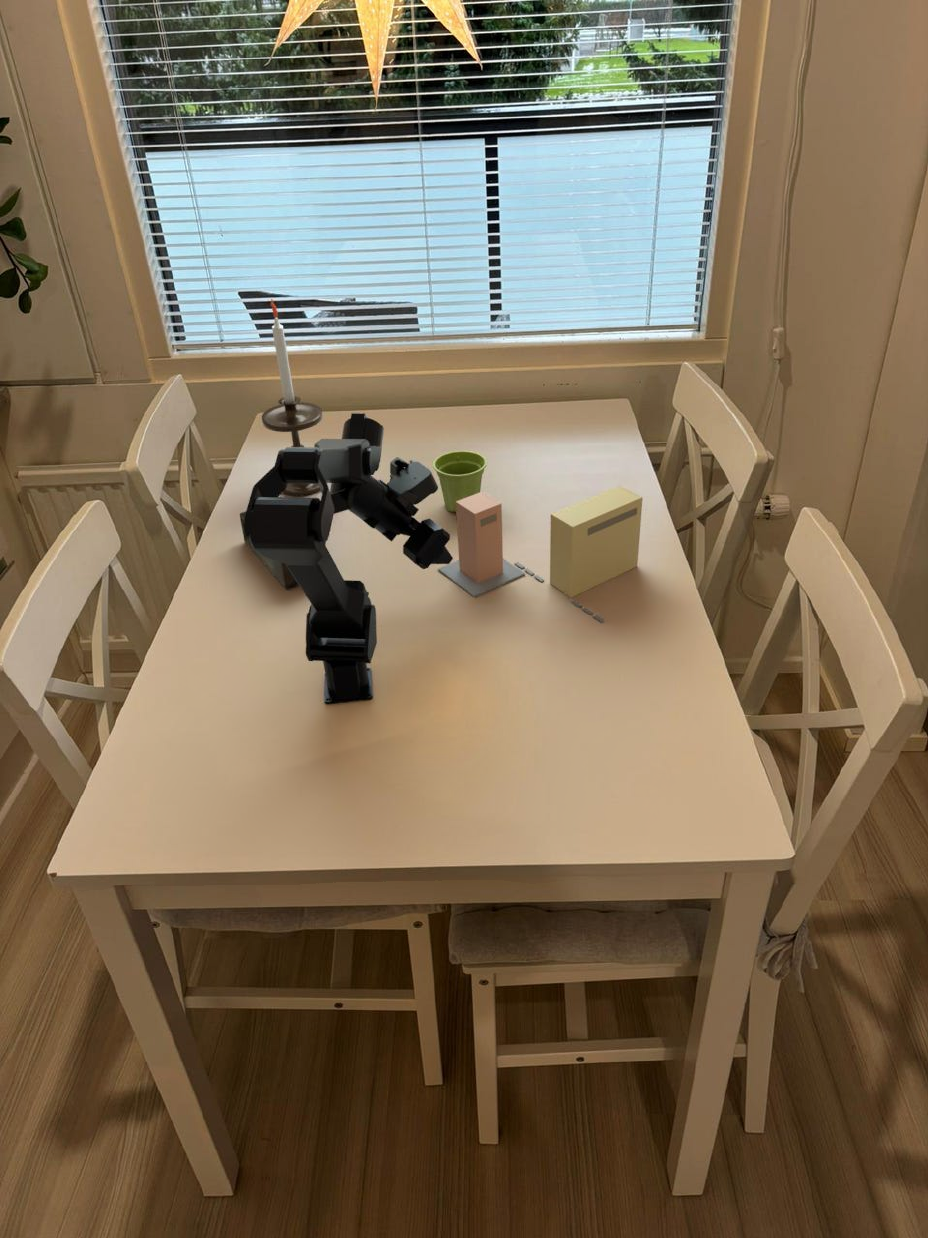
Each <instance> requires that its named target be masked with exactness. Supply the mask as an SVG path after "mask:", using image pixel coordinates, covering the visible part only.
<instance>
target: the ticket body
mask: <svg viewBox="0 0 928 1238" xmlns="http://www.w3.org/2000/svg"><path fill="white" fill-rule="evenodd" d="M642 508H643V496H641V495H639V494H638V493H635V492H633V491H632V490H629V488H626V487H624V486H622V485H618V486H614V487H613V488H610V489H608V490H606V491H603V492H601V493H598V494H596V495H594V496H591V497H589V498H586V499H584V500H581V501H579V502H576V503H574V504H572V505H570V506H567V507H565V508H562V509H560V510H558V511H557V510H556V511H554V512H553V513H550V532H549V533H550V534H549V535H550V536H549V537H550V541H549V544H550V546H549V547H550V550H549V555H550V556H549V557H550V558H549V584H550V585H551V586H553V587H554V588H556V589H557V590H559V591H560V592H562V593H563V594H565V595H566V596H568V597H569V598H573V597H575V596H577V595H579V594H582V593H584V592H586V591H587V590H590V589H592V588H594V587H596V586H599V585H601V584H602V583H605V582H607V581H609V580H612V579H613V578H616V577H618V576H620V575H622V574H624V573H626V572H628V571H630V570H632V569H634V568H637V567H638V561H639V552H640V551H639V549H640V534H641V521H642V511H643V509H642Z"/></svg>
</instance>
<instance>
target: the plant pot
mask: <svg viewBox="0 0 928 1238" xmlns="http://www.w3.org/2000/svg"><path fill="white" fill-rule="evenodd" d="M487 464H488V461H487V458H486V457H485V456H484V455H482V454H480V453H478V452H477V451H470V450H456V451H450V452H445V453H443V454H441V455H438V457H436V458H435V459H434V461H433V463H432V465H433V466H432V467H433V469H434V471H436V475H437V476H438V479H439V485H440V489H441V494H442V498H443V502H444V507H445V509H446V510H447V511H449V512H450V513H451V512H455V513H456V501H459V500H461V499H464V498H466V497H469V496H472V495H474V494H477V493H480V492H481V486H482V479H483V474H484V471H485V468H486V467H487Z"/></svg>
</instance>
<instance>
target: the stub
mask: <svg viewBox="0 0 928 1238" xmlns="http://www.w3.org/2000/svg"><path fill="white" fill-rule="evenodd" d="M502 511H503V509H502V502H500V501H498V500H497V499H495V498H493V497H491V496H490V495H488V494H487V493H485V492H484V491H480V493H477V494H474V495H472V496H469V497H466V498H464V499H461V500H459V501H456V512H455V513H456V526H457V527H456V529H457V543H458V544H457V546H458V547H457V549H458V560H459V567H460V571H462V572H463V573H465V574H466V575H467V576H469V577H470V578H471V579H473V580H474V581H475V582H477V583H480V582H482V581H484V580H487V579H489V578H491V577H493V576H496V575H498V574H500V573H503V559H504V554H503V550H504V549H503V548H504V547H503V519H502V518H503V516H502V514H503V513H502Z"/></svg>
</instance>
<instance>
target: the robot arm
mask: <svg viewBox="0 0 928 1238" xmlns="http://www.w3.org/2000/svg"><path fill="white" fill-rule="evenodd" d="M384 433H385V428H384V426H383V425H382V424H381V423H379V422H378V421H376V420H375V419H373V418H369V417H367V416H366V413H364V412H362V413H361V412H358V413H357V412H352V413H351V414H350V418H348V419H347V420H345V422H344V423H343V429H342V434H341V435H342V436H341V438H321V439H319V440H318V441H317V442H316V443H314V444H313V446H312V447H311V446H310V447H309V446H308V447H307V446H304V447H291V446H287V447H285V448H283V449H279V450H278V452H277V455H276V460H275V463H274V465H273V467H272V468H271V469H269V470H268V472H266V473H265V474H264V475H263V476H262V477H261V478H260V479H259V480H258V481H257V482H256V483H255V484H254V485H253V487H252V490H251V494H250V496H249V499H248V503H247V507H246V514H245V520H244V527H245V533H246V537H247V538H248V540H250V542H251V544H252V546H253V547H254V548H255V550H257V551H258V552H259V553H260V554H261V555H263V556H264V557H266V558H269V559H272V560H275V561H278V562H282V563H284V564H286V566H287V567H288V569H289V570H290V572H291V573H292V575H293V576H294V578H295V579H296V581H297V583H298V584H299V585H298V586H299V587H300V589H301V590H302V591H303V593H304V594H305V596H306V598H307V599H308V601H309V602H310V606H309V610H308V612H307V613H306V619H305V623H306V625H305V656H306V658H307V660H308V662H314V661H315V662H317V661H318V662H322V664H323V669H324V687H323V688H324V690H323V691H324V695H323V696H324V698H323V699H324V700H323V701H324V704H326V705H334V704H342V703H343V704H344V703H352V702H361V701H362V702H363V701H370V700H372V699H373V698H374V692H373V691H374V690H373V674H372V673H373V672H372V668H371V667H368V666H367V665H368V664H371V663H372V659H373V657H374V653H375V650H376V647H377V642H378V635H377V633H378V632H377V611H376V610H377V609H376V605H375V604H372V601H371V599H370V597H369V595H370V592H369V591H367V588H366V586H365V583H364V582H362V581H361V580H350V579H349V580H347V579H346V580H345V579H344V577H343V576H342V573H341V572H340V570H339V568H338V566H337V564H336V562H335V561H334V559H333V556H332V555H331V553H330V551H329V550H328V548H327V545H326V543H327V541H328V540H329V537H330V532H331V528H332V524H333V519H334V515H335V514H339V513H342V512H345V511H350V512H351V513H352V514H353V515H355V516H357V517H358V519H360V520H362V521H363V522H364V523H365V524H367V526H369V527H370V528H371V529H375V530H376V531H378V532H379V533H381V535H383V536H384V537H385V538H386V539H387V540H389V541H390V542H393V541H394V540H395V538H396V537H397V536H400V535H403V536H406V537H408V538H407V540H406V541H405V542H404V544H403V545H402V553H403V555H404V556H405V557H406V558H408V559H409V560H410V561H412V562H413V563H414V564H415V565H416V566H418V567H419V568H420V569H422V570H426V569H428V568H430V566H431V565H448V564H450V563H452V561H453V560H454V558H453V556H452V555H451V553H450V552H449V550H448V548H447V547H446V545H447V543H448V542H449V541H450V540H451V533H449V532H448V531H447V530H445V529H444V528H443V527H442V526H440V525H439V524H437V522H435V521H434V520H432V519H431V518H427V519H424V520H421V521H418V520H417V519H416V518H415V516H416V514H417V513H418V512H419V510H420V509H419V508H418V507H417V506H416V505H418V504H420V503H421V502H423V501H424V500H425V499H427V498H428V497H429V496H430V495H434V494H435V493H436V492H437V491H438V490H439V485H438V483H437V482H436V479H435V477H434V475H433V473H432V471H431V470H430V468H428V467H426V466H425V465H424V464H422V463H421V462H419V461H414V460H412V459H410V460H409V461H408V462H409V463H408V462H407V461H405V460H404V459H402V458H400V457H398V456H396V457H395V458H394V459H392V460H391V461H390V463H389V465H390V466H389V472H390V473H389V474H390V475H389V477H390V479H389V481H388V482H387V483H386V482H384V481H383V480H382V479H377V478H375V477H374V475H375V473H376V472H377V471H378V470H379V467H380V463H381V460H382V459H381V458H382V449H383V448H382V447H383V440H384ZM288 483H289V484H319V487H320V490H321V491H320V492H321V498H318V497H291V496H289V497H288V496H287V497H285V496H284V497H283V496H282V497H281V496H280V495H282V492H283V491H284V490H285V489H286V488H287V484H288ZM328 484H330V489H329V485H328Z"/></svg>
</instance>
